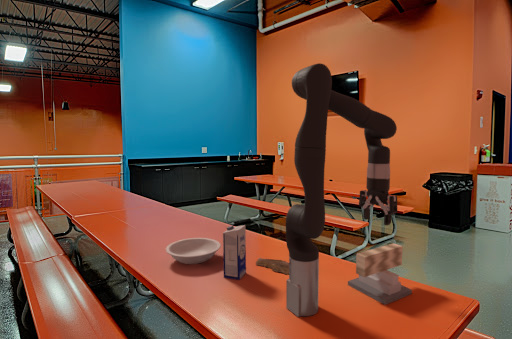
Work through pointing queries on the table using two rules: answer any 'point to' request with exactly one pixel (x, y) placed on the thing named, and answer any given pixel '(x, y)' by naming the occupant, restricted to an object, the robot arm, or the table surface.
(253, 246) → the table surface
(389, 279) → the ridge stand
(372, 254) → the ash bar
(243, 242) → the milk carton
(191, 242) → the soup bowl
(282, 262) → the wooden fragment
